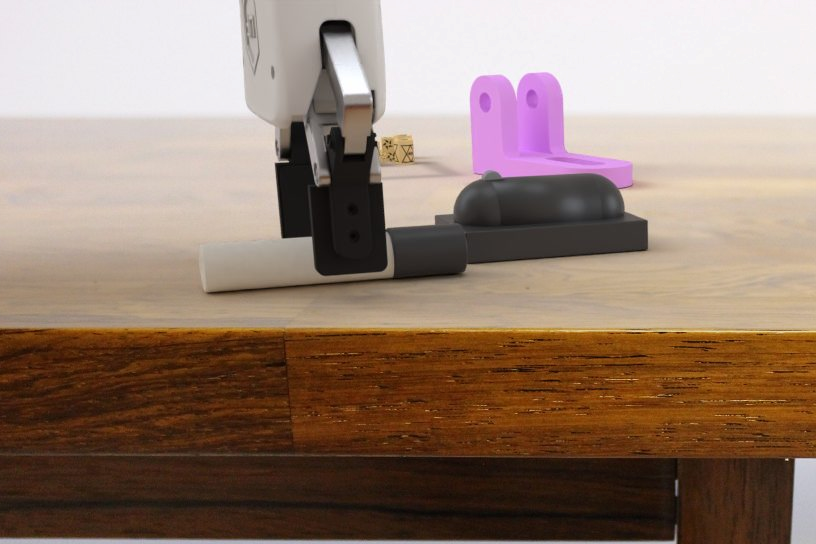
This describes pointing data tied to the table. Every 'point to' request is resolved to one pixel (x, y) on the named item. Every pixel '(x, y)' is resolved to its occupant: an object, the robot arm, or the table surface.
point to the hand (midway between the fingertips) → (332, 254)
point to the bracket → (529, 131)
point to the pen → (295, 260)
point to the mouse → (544, 217)
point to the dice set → (396, 149)
